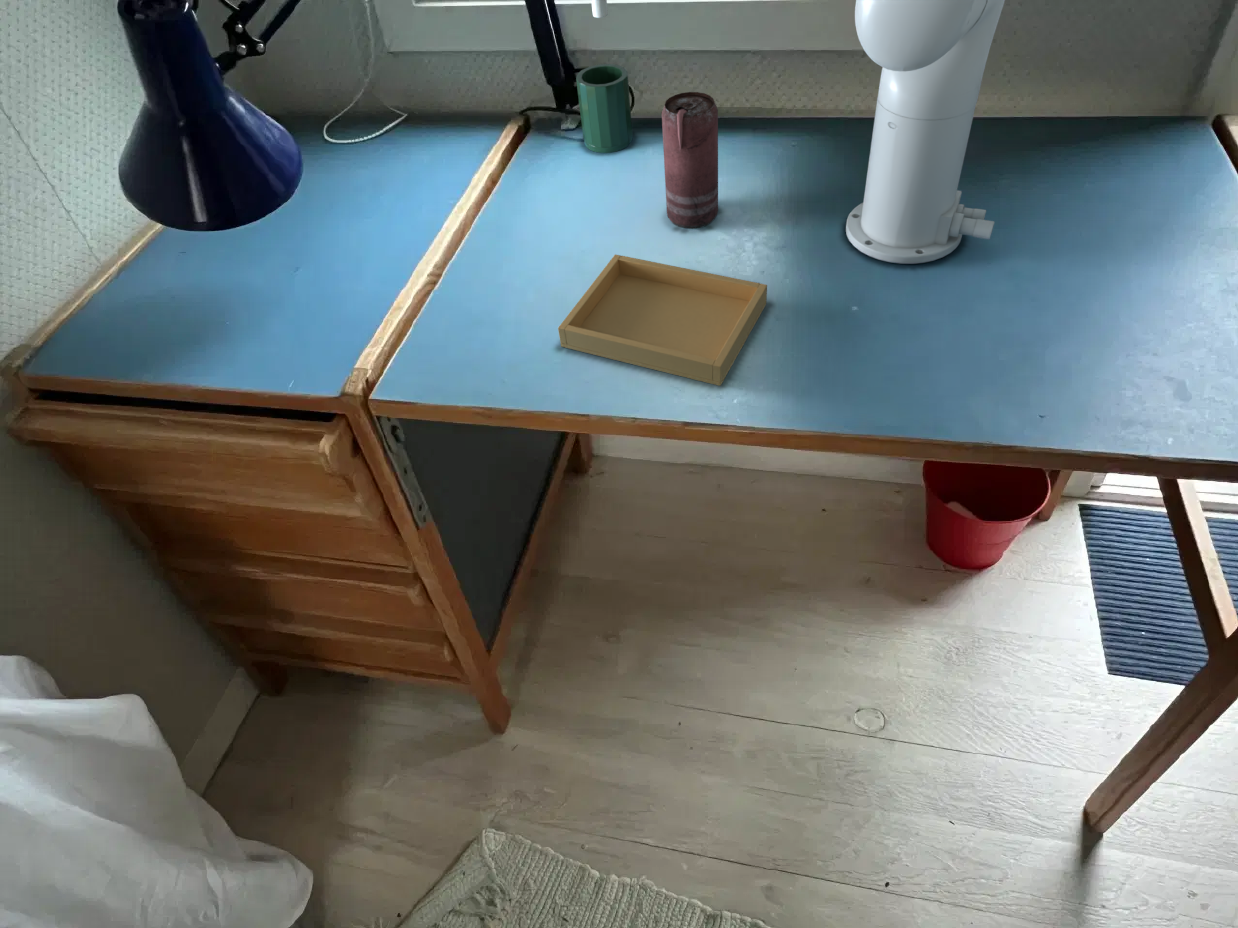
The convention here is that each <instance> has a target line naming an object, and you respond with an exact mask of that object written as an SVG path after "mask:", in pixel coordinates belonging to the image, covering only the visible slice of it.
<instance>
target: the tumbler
mask: <svg viewBox="0 0 1238 928" xmlns="http://www.w3.org/2000/svg"><path fill="white" fill-rule="evenodd" d="M575 80H576V89H577V96H578V106H579V113H580V121H581V130H582V139H583V143H584V146H585V148H586V149H588V150H589V151H590V152H591V151H592V152H594V153H599V154H610V153H615V152H619V151H622V150H624V149H626V148H627V147H629V146H630V145H631V144H632V142H633V124H632V123H633V121H632V112H631V111H632V110H631V99H630V98H631V97H630V86H629V85H630V84H629V72H628V70H627V69H626V68H625V66H621V65H619V64H614V63H601V64H595V65H590V66H588V67H585V68H583V69H581V70H580V71H579V72H578V73H577V74H576V79H575Z"/></svg>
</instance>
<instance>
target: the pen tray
mask: <svg viewBox="0 0 1238 928" xmlns="http://www.w3.org/2000/svg"><path fill="white" fill-rule="evenodd" d="M767 299H768V284H765V283H760V282H755V281H751V280H745V279H741V278H735V277H731V276H726V275H720V274H717V273H716V274H715V273H710V272H705V271H700V270H697V269H692V268H686V267H681V266H675V265H672V264H671V265H670V264H666V263H661V262H657V261H656V262H655V261H652V260H651V261H650V260H646V259H641V258H635V257H631V256H626V255H621V254H616V253H615V254H614V255H613V256H612V258H611V259H610V260H609V261H608V263H607V264H606V265H605V266H604V267H603V269H602V270H601V272H600V273H599V275H598V276H597V277H595V280H594V281H593V282H592V283H591V285H590V286H589V287H588V288H587V290H586V291H585V293H584V294H583V295H582V296H581V297H580V299H579V300H578V301H577V302H576V304H575V305H574V306H573V308H572V309H571V311H569V313H567V316H566V317H565V318H564V319H563V320H562V322H561V323H560V324H559V325H558V327H557V330H558V336H559V342H560V347H561V348H565V349H569V350H573V351H577V352H580V353H581V352H582V353H586V354H589V355H594V356H597V357H601V358H606V359H610V360H614V361H618V362H622V363H626V364H630V365H634V366H637V367H641V368H646V369H650V370H654V371H658V372H661V373H666V374H670V375H674V376H677V377H682V378H686V379H690V380H695V381H699V382H702V383H706V384H711V385H715V386H719V387H721V386H722V384H723V382H724V381H725V379H726V377H727V375H728V373H729V371H730V370H731V369H732V366H733V365H734V363H735V361H736V360H737V357H738V356H739V353H740V352H741V350H742V349H743V346H744V345H745V343H746V342H747V339H748V338H749V336H750V334H751V332H752V331H753V329H754V327H755V325H756V324H757V322H758V320H759V318H760V317H761V314H762V312H763V311H764V309H765V307H766V305H767Z"/></svg>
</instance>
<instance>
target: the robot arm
mask: <svg viewBox="0 0 1238 928" xmlns="http://www.w3.org/2000/svg"><path fill="white" fill-rule="evenodd" d="M1005 1H1006V0H855V5H854V6H855V7H854V25H855V30H856V34H857V38H858V41H859V44H860V45H861V47H862V49H863V51H864V52H865V54H866V55H867V56H868V58H869V59H871V61H873V62H874V63H875V64H876V65H878V66H880V67H882V68H881V73H880V79H879V85H878V86H879V87H878V93H877V98H876V107H875V113H874V120H873V128H872V136H871V142H870V151H869V158H868V164H867V173H866V179H865V187H864V194H863V202H861V203H860V204H858V205H857V206H855V207H854V208H853V209H852V210H851V212H850V213H849V214H848V216H847V219H846V223H845V232H846V234H845V235H846V237H847V240H848V241H849V242H850V243H851V244H852V246H853V247H854V248H856V249H857V250H858V251H859V252H860V253H862V254H864V255H867V256H868V257H870V258H873V259H876V260H878V261H883V262H887V263H893V264H901V265H915V264H924V263H929V262H934V261H936V260H939V259H941V258H944V257H946V256H948V255H949V254H951V253H952V252H953V251H954V250H956V249H957V248H958V246H959V245H960V243H961V240H962V237H963V235H964V236H969V237H972V238H976V239H977V238H978V239H982V240H988V241H990V239H991V237H992V233H993V230H994V226H995V221H993V220H988V219H985V217H986V214H987V209H982V208H977V207H976V208H971V207H966V206H965V204H962V203H960V202H961V198H962V192H963V191H962V190H958V188H959V182H960V178H961V174H962V171H963V170H962V169H963V165H964V160H965V156H966V152H967V147H968V142H969V137H970V133H971V128H972V124H973V120H974V115H975V110H976V106H977V103H978V99H979V95H980V90H981V86H982V83H983V77H984V73H985V68H986V65H987V61H988V57H989V53H990V49H991V47H992V42H993V41H994V40H993V39H994V36H995V33H996V30H997V27H998V23H999V20H1000V17H1001V14H1002V11H1003V8H1004V5H1005Z"/></svg>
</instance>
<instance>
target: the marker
mask: <svg viewBox="0 0 1238 928" xmlns="http://www.w3.org/2000/svg"><path fill="white" fill-rule="evenodd" d="M590 3H591V11H592V17H594V18H597V19H601V18H605V17H607V16H608V15H609V11H608V10H609V9H608V2H607V0H590Z"/></svg>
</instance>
